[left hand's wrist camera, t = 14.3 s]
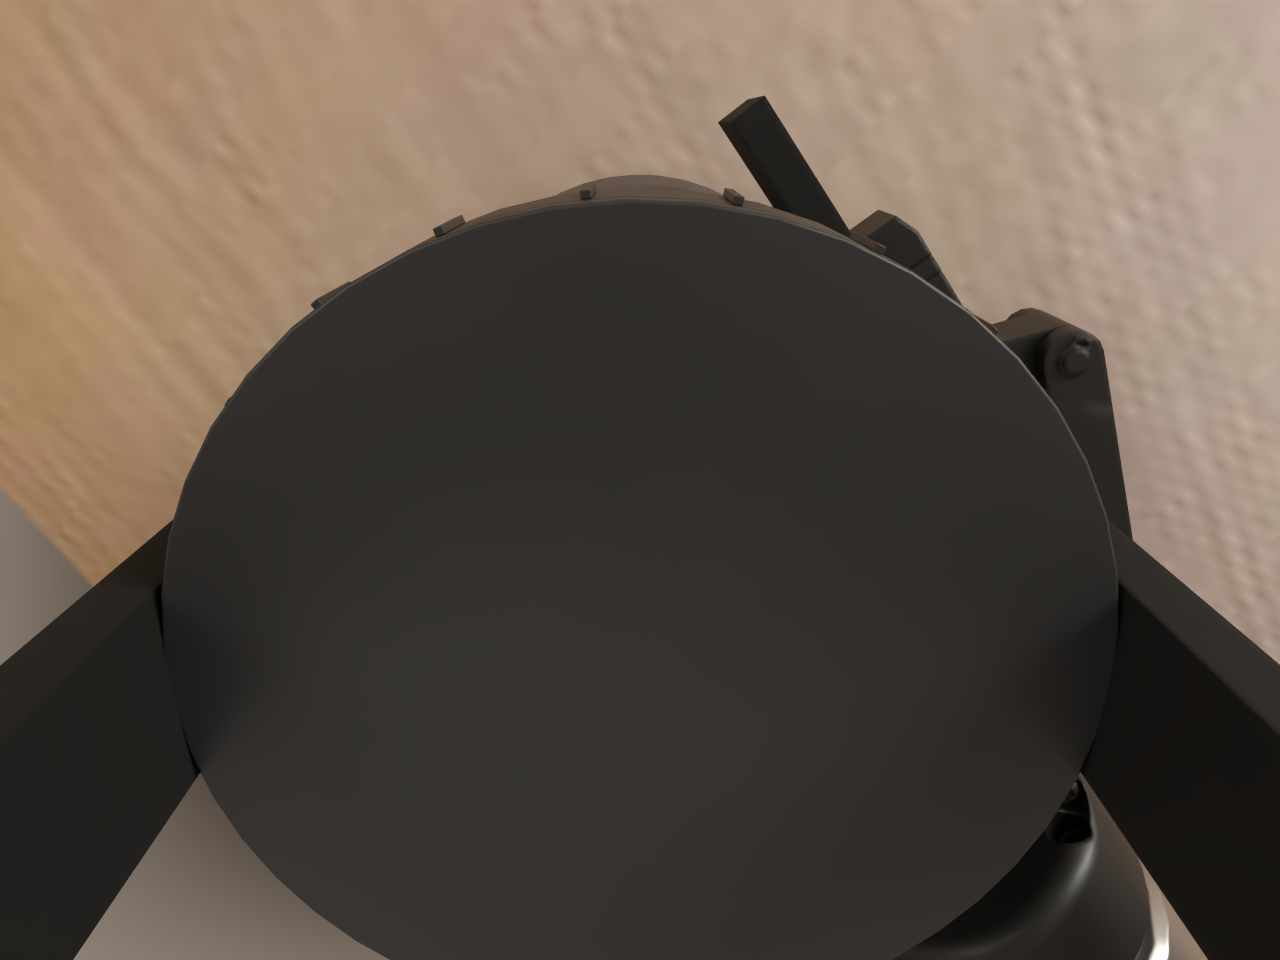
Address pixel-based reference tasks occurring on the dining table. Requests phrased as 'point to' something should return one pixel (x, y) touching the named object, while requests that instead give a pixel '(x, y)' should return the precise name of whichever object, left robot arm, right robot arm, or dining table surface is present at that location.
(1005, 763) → the lid
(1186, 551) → the dining table surface
